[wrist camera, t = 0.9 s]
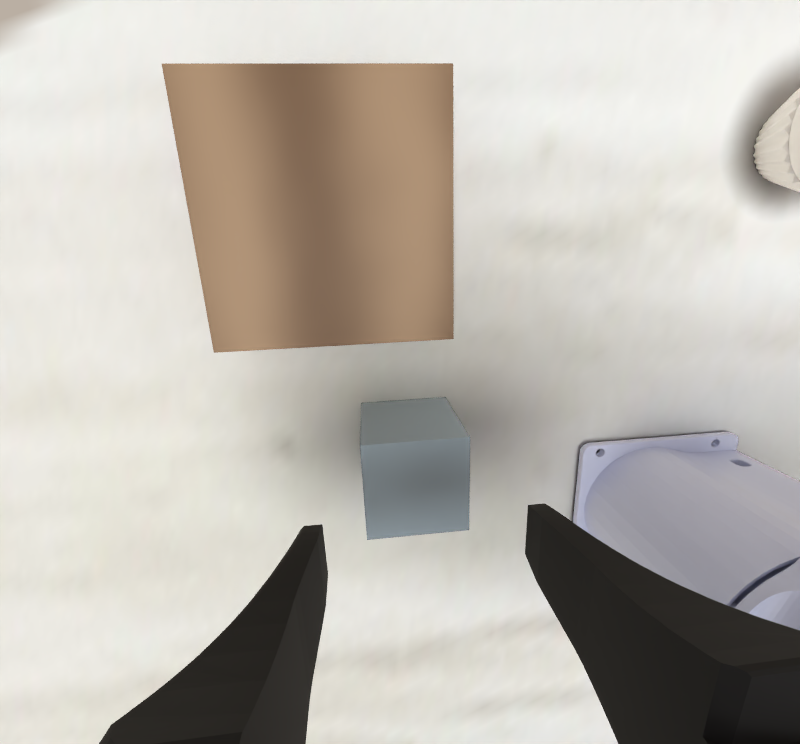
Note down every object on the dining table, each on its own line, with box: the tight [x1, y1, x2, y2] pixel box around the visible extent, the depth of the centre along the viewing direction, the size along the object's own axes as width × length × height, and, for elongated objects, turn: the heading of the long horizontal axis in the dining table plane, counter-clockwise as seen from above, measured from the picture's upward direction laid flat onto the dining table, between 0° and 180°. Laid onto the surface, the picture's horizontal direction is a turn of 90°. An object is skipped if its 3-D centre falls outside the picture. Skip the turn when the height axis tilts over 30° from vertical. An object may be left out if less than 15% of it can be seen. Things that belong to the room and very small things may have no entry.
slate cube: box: [360, 397, 470, 540], centre depth 18 cm, size 4×4×5 cm
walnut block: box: [162, 64, 453, 353], centre depth 16 cm, size 10×10×3 cm
